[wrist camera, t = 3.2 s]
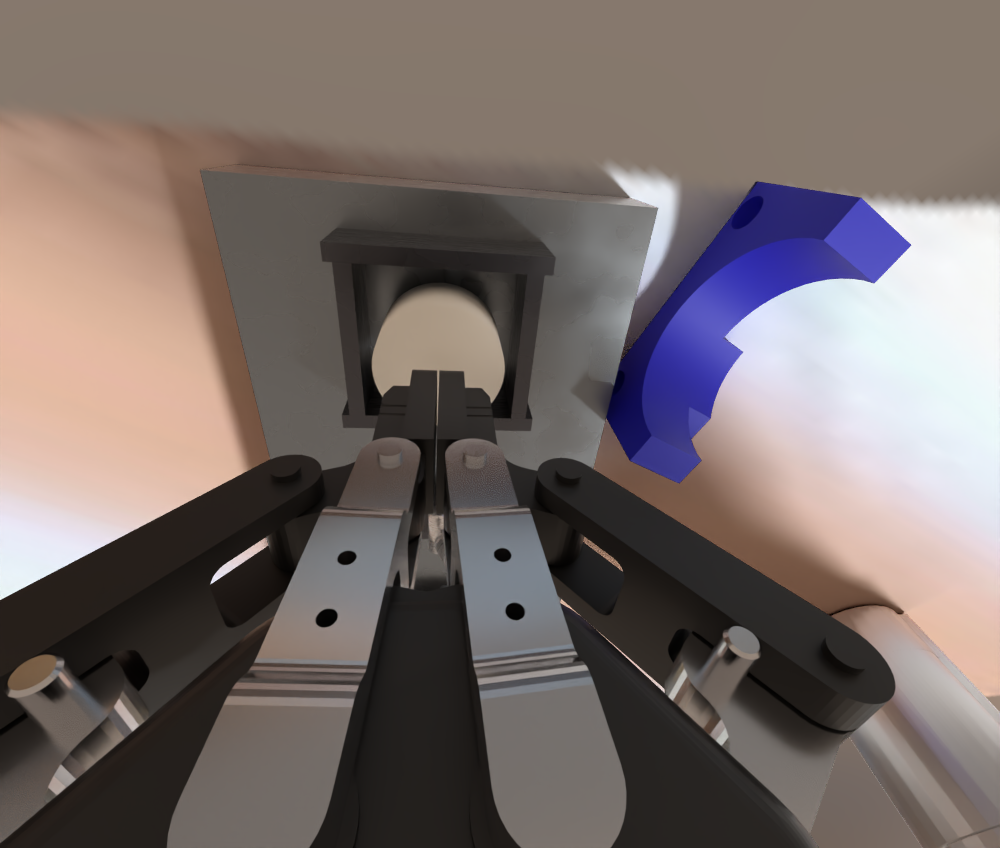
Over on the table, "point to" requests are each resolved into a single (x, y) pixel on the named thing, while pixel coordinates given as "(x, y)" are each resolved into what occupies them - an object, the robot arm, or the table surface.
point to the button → (439, 339)
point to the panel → (413, 262)
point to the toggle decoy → (436, 534)
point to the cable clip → (735, 311)
